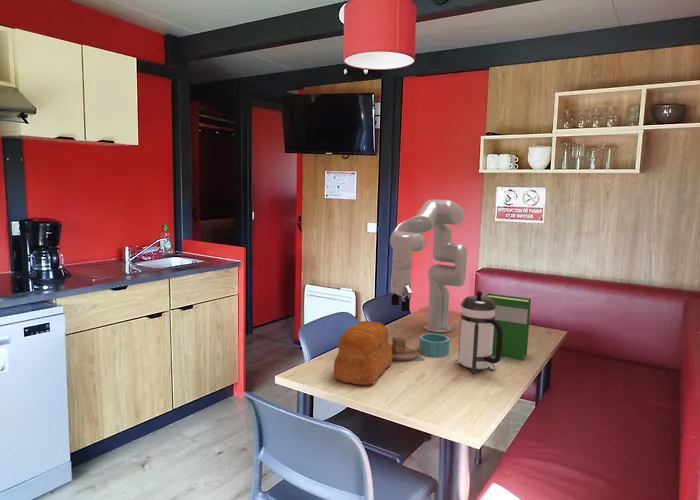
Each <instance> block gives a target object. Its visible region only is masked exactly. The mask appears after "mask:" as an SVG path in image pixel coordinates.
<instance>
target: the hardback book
mask: <svg viewBox="0 0 700 500" xmlns="http://www.w3.org/2000/svg"><path fill="white" fill-rule="evenodd" d="M482 297H487V298H490V299H492V300H493V301H494V303H495V305H496V309H495V320H496V321H497V322H499V324H500V325H501V328H502V332H503V340H502V354H501V358H502V357H503V358H506V359H507V358H508V359H514V360H518V361H525V356H527V354H528V343H529V331H530V330H529V329H530V318H531V317H530V316H531V305H532V298H531V297H529V298H528V297H522V296H514V295H507V294H504V295H503V294H498V293H491V292H490V293H489V292H487V293H485V294H484V295H482ZM493 336H494V341H493V348H492V351H493V356H496V345H497V330H496V327H495V326H494V333H493Z"/></svg>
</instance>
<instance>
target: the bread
mask: <svg viewBox="0 0 700 500" xmlns="http://www.w3.org/2000/svg"><path fill="white" fill-rule="evenodd" d="M389 334H390V333H389V329H388V328H387V327H386V326H385V324H383V323H381V322H377V321H370V320H362V321H359V322H358V323H356V324H354V325H351V326H350V327H349V328H347V329H346V330H345V331H344V333H343V334H341V335H340V336H339V339H338V344H337V348H338V352H337V355H336V357H335V359H334V363H333V376H334V378H335V380H336V381H339V380H340V382H342V383H348V384H351V385H352V384H353V385H361V386H362V385H363V386H366V385H367V386H368V385H372V384H373V383H375V382H377V380H378V378H379V377H380V376H381V375H383V374H384V372H385V370H386V369H387V368H389V367H390V366H391V365H392V364H391V362H392V349H391V347H392V346H391V345H390V342H389V340H388V339H389V336H390V335H389Z"/></svg>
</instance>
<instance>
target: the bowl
mask: <svg viewBox="0 0 700 500" xmlns="http://www.w3.org/2000/svg"><path fill="white" fill-rule="evenodd" d="M418 344H419V345H418V352H419V353H420V354H421V355H424V356H427V357H434V358H442V357H446V356H448V355H449V352H450V337H449V336H447V335H444V334H440V333H435V332H431V333H430V332H429V333H422V334H421V335H419V343H418Z"/></svg>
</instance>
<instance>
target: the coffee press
mask: <svg viewBox="0 0 700 500" xmlns="http://www.w3.org/2000/svg"><path fill="white" fill-rule="evenodd" d="M475 294H476V295H470V296H467V297H465V298H463V300H462V301H461V302H460V303H461V304H460V306H461V312H460V321H459V322H460V323H459V341H458V359H457V360H456V361H455V362H454V365H456V363H457V362H458V361H459V364H458V366H460V365H462V366H464V367H465V368H469V369H471V375H476V372H477V371H476V370H484V369H487V368H488V369H490V370H491V371H492V372H494V371H496V366H495V365H494V364H497V363H499V362H500V361H501V359H502V356H501V354H502V340H503V332H502V328H501V325H500V324H499V322H497V321H496V320H495V309H496V305H495V303H494V301H493V300H492V299H490V298H487V297H483V292H482V291H481V290H477V291H476V293H475ZM494 326H495V327H496V330H497V345H496V355H493V351H492V348H493V341H494V336H493V333H494ZM494 356H495V357H494ZM493 357H494V358H493ZM491 365H492V367H493V368H492V367H491Z"/></svg>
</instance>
